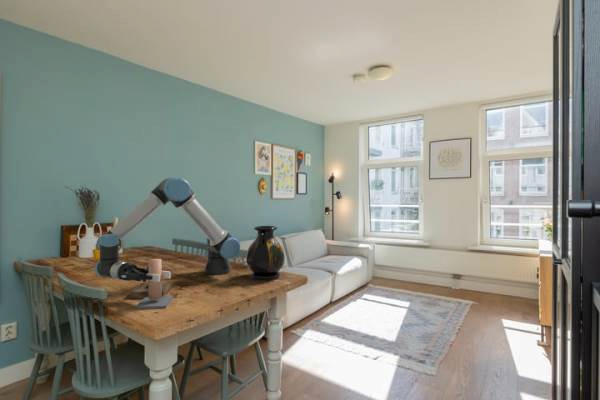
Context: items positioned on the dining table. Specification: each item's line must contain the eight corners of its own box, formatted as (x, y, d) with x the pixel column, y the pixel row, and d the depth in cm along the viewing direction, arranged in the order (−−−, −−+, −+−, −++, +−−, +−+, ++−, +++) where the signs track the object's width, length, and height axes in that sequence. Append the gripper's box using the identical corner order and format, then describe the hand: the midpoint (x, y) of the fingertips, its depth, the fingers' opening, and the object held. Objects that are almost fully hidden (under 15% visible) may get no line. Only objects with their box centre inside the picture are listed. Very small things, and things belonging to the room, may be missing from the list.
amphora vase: (279, 283, 165) (279, 229, 164) (240, 281, 168) (240, 228, 168) (288, 273, 186) (288, 225, 185) (253, 271, 190) (253, 224, 189)
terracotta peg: (163, 295, 136) (163, 258, 136) (159, 299, 131) (159, 261, 131) (150, 296, 135) (150, 258, 135) (146, 300, 130) (146, 261, 130)
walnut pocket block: (171, 288, 155) (171, 282, 155) (163, 297, 141) (163, 290, 141) (141, 289, 153) (141, 283, 153) (130, 298, 140) (130, 291, 139)
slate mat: (173, 298, 140) (173, 296, 140) (166, 308, 128) (166, 305, 128) (145, 299, 138) (145, 297, 138) (134, 309, 127) (134, 307, 127)
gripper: (141, 274, 148) (180, 280, 139) (105, 285, 132) (146, 291, 123) (141, 258, 148) (180, 263, 139) (105, 267, 132) (146, 272, 123)
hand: (164, 276), depth 131 cm, fingers closed on terracotta peg, 5 cm apart
